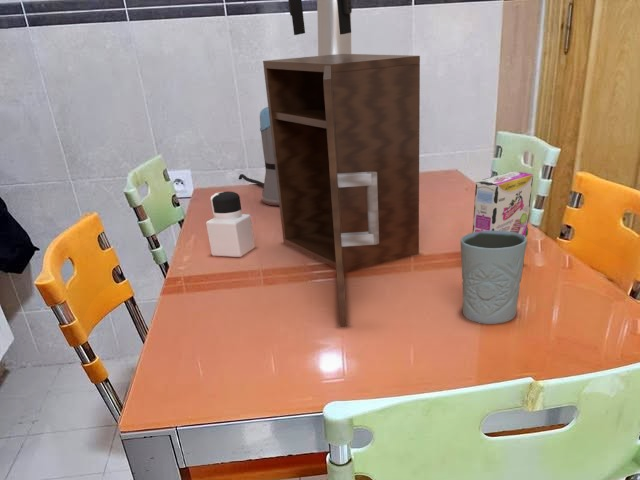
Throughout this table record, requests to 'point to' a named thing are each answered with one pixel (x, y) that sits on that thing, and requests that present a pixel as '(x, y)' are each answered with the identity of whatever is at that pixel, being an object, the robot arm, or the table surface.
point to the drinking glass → (491, 275)
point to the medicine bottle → (229, 226)
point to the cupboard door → (337, 182)
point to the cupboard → (347, 152)
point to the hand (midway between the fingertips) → (322, 34)
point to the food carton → (503, 203)
